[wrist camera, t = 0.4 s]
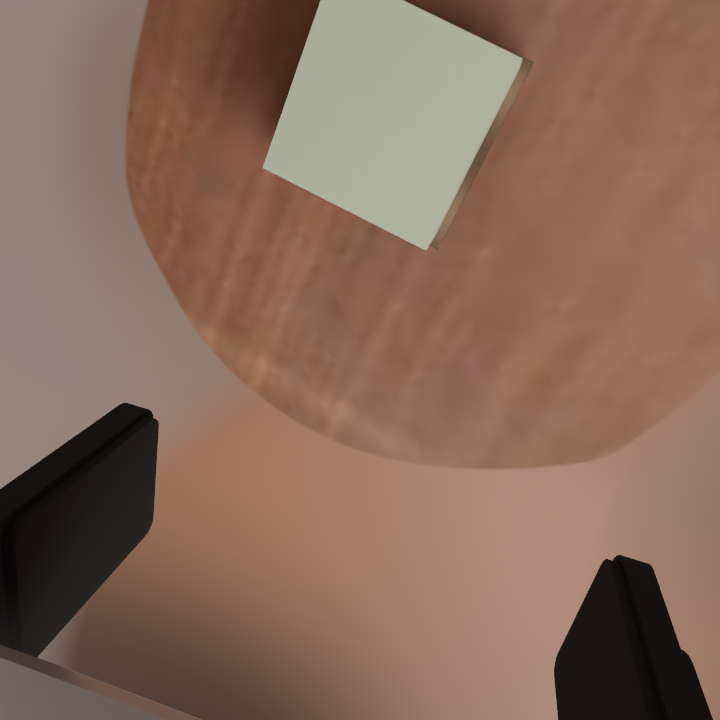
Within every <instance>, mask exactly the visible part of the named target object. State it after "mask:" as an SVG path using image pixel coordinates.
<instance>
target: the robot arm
mask: <svg viewBox="0 0 720 720" xmlns="http://www.w3.org/2000/svg"><path fill="white" fill-rule="evenodd" d="M158 427H159V425H158V421H157V420H156V419H154V418H153V414H152V412H151V411H150V410H148V409H145V408H141V407H138V406H135V405H132V404H129V403H122V404H120V405H119V406H117V407H116V408H115V409H113V410H112V411H110V412H109V413H107V414H106V415H105V416H103V417H102V418H101V419H99V420H98V421H96V422H95V423H93V424H92V425H91V426H89V427H88V428H86V429H85V430H83V431H82V432H81V433H79V434H78V435H76V436H75V437H73V438H72V439H71V440H69V441H68V442H66V443H65V444H64V445H62V446H61V447H59V448H58V449H56V450H55V451H54V452H52V453H51V454H49V455H48V456H47V457H45V458H44V459H42V460H41V461H40V462H38V463H37V464H35V465H34V466H32V467H31V468H30V469H28V470H27V471H25V472H24V473H23V474H21V475H20V476H18V477H17V478H16V479H14V480H13V481H11V482H10V483H8V484H7V485H6V486H4V487H3V488H1V489H0V720H201V719H199V718H196V717H194V716H191V715H188V714H186V713H183V712H180V711H178V710H175V709H172V708H170V707H167V706H164V705H162V704H159V703H157V702H154V701H151V700H149V699H146V698H143V697H141V696H138V695H135V694H133V693H130V692H128V691H125V690H122V689H120V688H117V687H114V686H112V685H109V684H106V683H103V682H101V681H98V680H96V679H93V678H90V677H88V676H85V675H82V674H80V673H77V672H74V671H72V670H69V669H67V668H64V667H61V666H59V665H56V664H53V663H50V662H48V661H45V660H42V659H39V658H37V657H38V656H39V654H40V653H41V652H42V651H43V650H44V649H45V648H46V647H47V646H48V644H49V643H50V642H51V641H52V640H53V639H54V637H56V635H57V634H58V633H59V632H60V631H61V630H62V629H63V628H64V626H65V625H66V624H67V623H68V622H69V621H70V619H72V617H73V616H74V615H75V614H76V613H77V612H78V611H79V610H80V608H81V607H82V606H83V605H84V604H85V603H86V601H88V600H89V598H90V597H91V596H92V595H93V594H94V593H95V592H96V591H97V589H98V588H99V587H100V586H101V585H102V584H103V583H104V582H105V580H106V579H107V578H108V577H109V576H110V575H111V574H112V573H113V571H114V570H115V569H116V568H117V567H118V566H119V565H120V563H121V562H122V561H123V560H124V559H125V558H126V557H127V555H129V554H130V552H131V551H132V550H133V549H134V548H135V547H136V546H137V544H138V543H139V542H140V541H141V540H142V539H143V538H144V537H145V535H146V534H147V533H148V531H149V529H150V527H151V524H152V521H153V513H154V496H155V478H156V461H157V444H158ZM554 678H555V688H556V699H557V710H558V720H713V719H712V716H711V713H710V711H709V708H708V705H707V702H706V699H705V696H704V694H703V691H702V688H701V685H700V682H699V679H698V677H697V674H696V671H695V668H694V665H693V663H692V661H691V659H690V657H689V655H688V654H687V653H685V651H683V650H681V649H680V646H679V643H678V640H677V637H676V634H675V632H674V628H673V625H672V622H671V619H670V616H669V613H668V611H667V608H666V605H665V602H664V599H663V596H662V593H661V590H660V587H659V584H658V581H657V578H656V576H655V573H654V570H653V568H652V566H651V565H650V564H647V563H644V562H641V561H637V560H634V559H631V558H628V557H625V556H621V555H618V556H616V557H615V558H614V560H613V561H611V560H608V559H605V560H604V561H603V563H602V564H601V566H600V568H599V570H598V572H597V574H596V576H595V579H594V580H593V583H592V585H591V587H590V589H589V591H588V593H587V595H586V597H585V599H584V601H583V603H582V605H581V607H580V609H579V611H578V613H577V615H576V617H575V620H574V622H573V624H572V626H571V628H570V630H569V632H568V634H567V636H566V638H565V640H564V642H563V644H562V646H561V648H560V650H559V652H558V655H557V657H556V662H555V668H554Z"/></svg>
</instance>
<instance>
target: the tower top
mask: <svg viewBox="0 0 720 720" xmlns="http://www.w3.org/2000/svg"><path fill="white" fill-rule="evenodd" d="M522 59H523V58H521V57H519V56H517V55H514V54H512V53H510V52H508V51H506V50H504V49H502V48H500V47H498V46H496V45H494V44H492V43H490V42H488V41H486V40H484V39H482V38H480V37H478V36H475V35H473V34H471V33H469V32H467V31H465V30H463V29H461V28H459V27H457V26H455V25H453V24H451V23H449V22H447V21H445V20H443V19H441V18H438V17H436V16H434V15H432V14H430V13H428V12H426V11H424V10H422V9H420V8H418V7H416V6H414V5H412V4H410V3H408V2H406V1H404V0H320V3H319V6H318V9H317V12H316V15H315V18H314V21H313V24H312V27H311V29H310V32H309V35H308V38H307V41H306V44H305V47H304V50H303V53H302V56H301V58H300V61H299V64H298V67H297V70H296V73H295V76H294V79H293V82H292V85H291V87H290V90H289V93H288V96H287V99H286V102H285V105H284V108H283V111H282V114H281V116H280V119H279V122H278V125H277V128H276V131H275V134H274V137H273V140H272V143H271V145H270V148H269V151H268V154H267V157H266V160H265V163H264V166H263V168H264V169H266V170H268V171H270V172H272V173H274V174H276V175H278V176H280V177H282V178H284V179H286V180H288V181H290V182H292V183H294V184H296V185H297V186H299V187H301V188H303V189H305V190H307V191H309V192H311V193H313V194H315V195H317V196H319V197H321V198H323V199H325V200H327V201H329V202H331V203H333V204H335V205H337V206H339V207H341V208H343V209H345V210H347V211H349V212H351V213H353V214H355V215H357V216H359V217H361V218H363V219H365V220H367V221H369V222H371V223H373V224H375V225H376V226H378V227H380V228H382V229H384V230H386V231H388V232H390V233H392V234H394V235H396V236H398V237H400V238H402V239H404V240H406V241H408V242H410V243H412V244H414V245H416V246H418V247H420V248H422V249H424V250H426V249H427V248H428V246H429V245H430V243H431V242H432V240H433V239H434V237H435V235H436V233H437V231H438V229H439V227H440V225H441V223H442V221H443V219H444V217H445V215H446V213H447V211H448V210H449V208H450V206H451V204H452V202H453V200H454V198H455V196H456V194H457V192H458V190H459V188H460V186H461V184H462V182H463V180H464V178H465V176H466V174H467V172H468V170H469V168H470V166H471V164H472V162H473V160H474V158H475V156H476V154H477V152H478V150H479V148H480V146H481V144H482V142H483V140H484V138H485V136H486V134H487V132H488V130H489V128H490V126H491V124H492V122H493V120H494V118H495V116H496V115H497V113H498V111H499V109H500V107H501V105H502V103H503V101H504V99H505V97H506V95H507V93H508V91H509V89H510V87H511V85H512V83H513V81H514V79H515V77H516V75H517V73H518V71H519V69H520V66H521V62H522Z"/></svg>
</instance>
